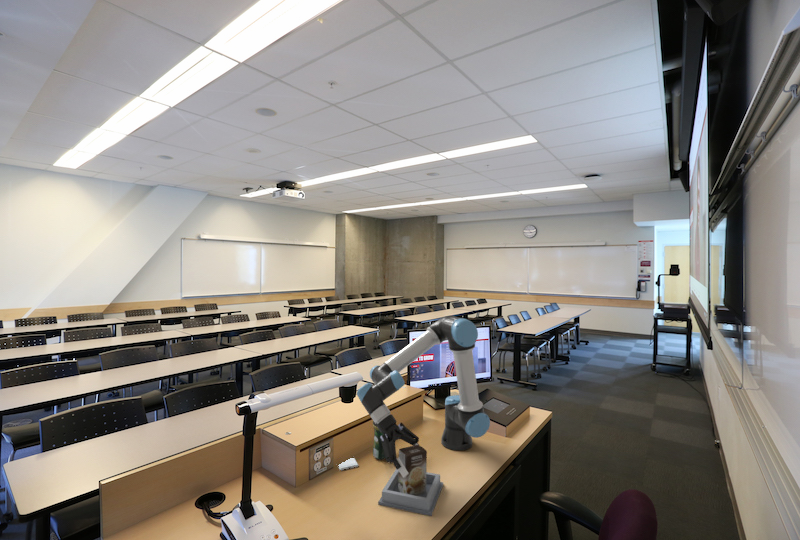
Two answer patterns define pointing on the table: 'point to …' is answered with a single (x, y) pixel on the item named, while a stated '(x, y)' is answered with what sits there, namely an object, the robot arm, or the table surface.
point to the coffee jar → (377, 444)
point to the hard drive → (348, 464)
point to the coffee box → (413, 470)
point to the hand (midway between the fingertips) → (415, 467)
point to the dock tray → (410, 502)
